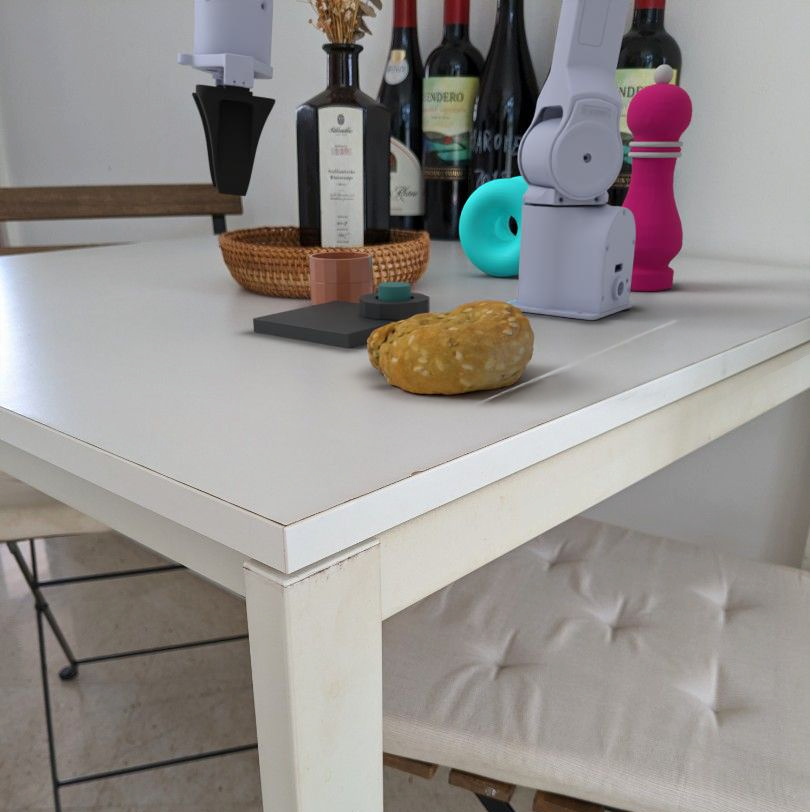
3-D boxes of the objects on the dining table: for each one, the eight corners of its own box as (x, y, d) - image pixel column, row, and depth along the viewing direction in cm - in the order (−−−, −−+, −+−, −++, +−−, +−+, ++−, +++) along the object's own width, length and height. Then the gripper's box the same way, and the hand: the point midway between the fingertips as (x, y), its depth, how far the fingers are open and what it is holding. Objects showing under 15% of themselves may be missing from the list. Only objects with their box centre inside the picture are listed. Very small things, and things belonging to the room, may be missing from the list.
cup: (385, 305, 79) (384, 254, 77) (345, 314, 75) (343, 261, 73) (339, 299, 82) (337, 250, 80) (298, 308, 78) (295, 256, 76)
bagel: (428, 352, 62) (428, 284, 60) (561, 377, 55) (567, 301, 53) (332, 381, 55) (329, 305, 53) (473, 412, 48) (475, 327, 46)
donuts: (565, 268, 100) (572, 175, 95) (541, 281, 91) (547, 180, 87) (484, 264, 103) (487, 174, 99) (454, 275, 95) (456, 178, 91)
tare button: (417, 300, 69) (417, 283, 68) (397, 305, 67) (397, 287, 66) (391, 297, 70) (391, 280, 70) (371, 302, 68) (371, 284, 68)
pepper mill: (685, 284, 89) (714, 65, 80) (664, 294, 83) (692, 60, 75) (618, 279, 92) (639, 68, 84) (593, 288, 87) (613, 63, 78)
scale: (441, 327, 70) (442, 295, 69) (357, 351, 62) (356, 316, 61) (342, 312, 76) (341, 283, 75) (253, 333, 68) (251, 301, 67)
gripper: (177, -3, 68) (175, 180, 74) (180, -32, 56) (178, 191, 61) (265, 12, 70) (258, 189, 76) (288, -13, 58) (277, 202, 63)
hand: (228, 191), depth 69 cm, fingers open, 7 cm apart
